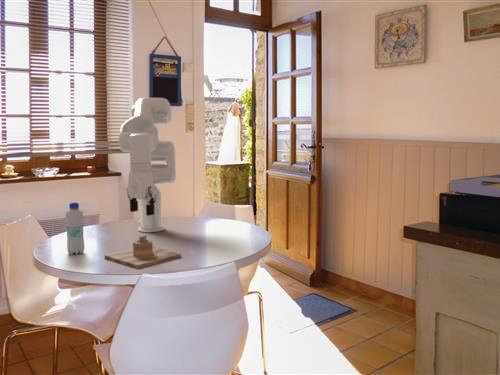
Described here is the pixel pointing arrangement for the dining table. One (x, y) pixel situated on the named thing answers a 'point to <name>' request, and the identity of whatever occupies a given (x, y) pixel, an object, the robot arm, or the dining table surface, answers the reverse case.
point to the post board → (140, 262)
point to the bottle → (74, 229)
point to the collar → (142, 248)
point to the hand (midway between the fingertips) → (142, 213)
